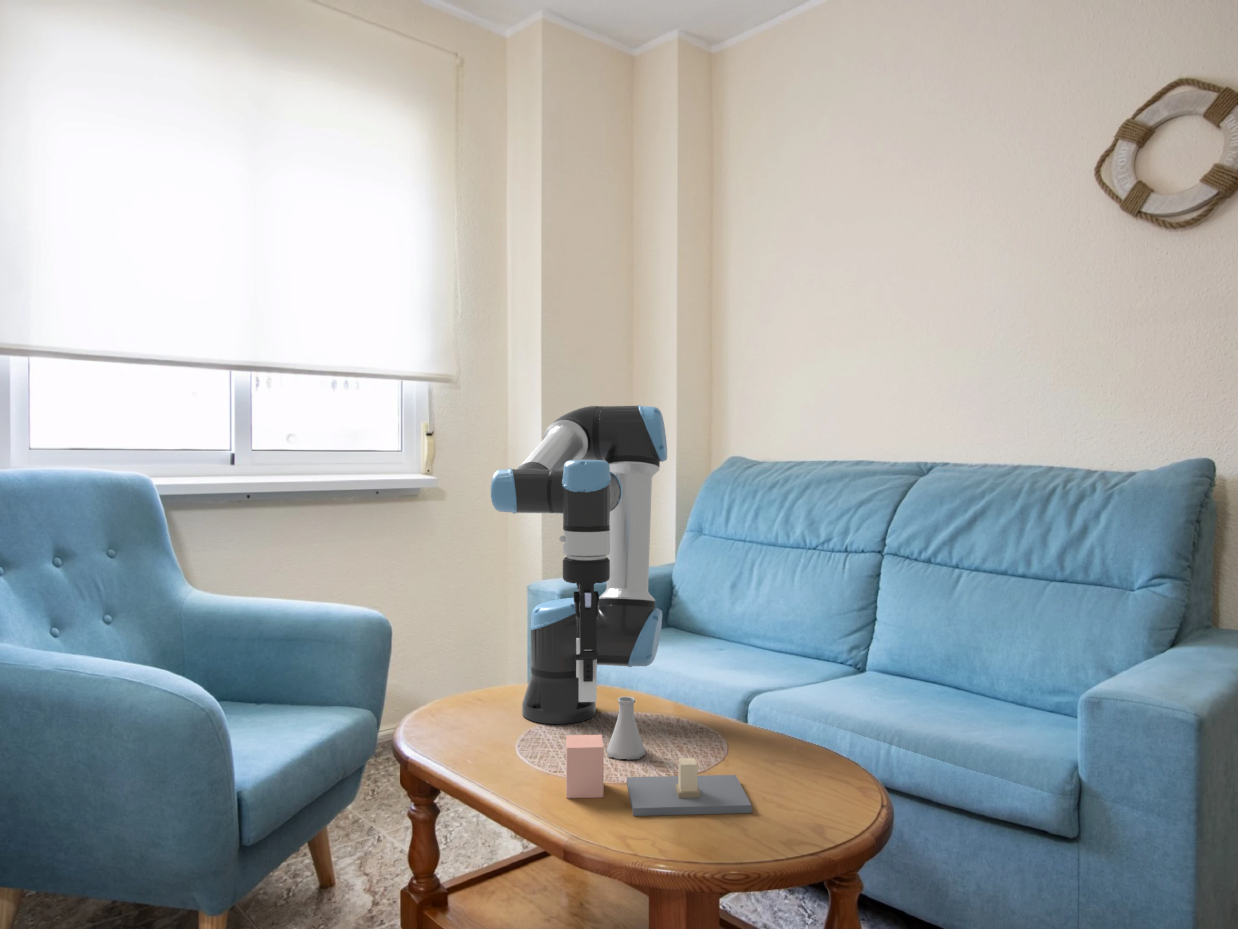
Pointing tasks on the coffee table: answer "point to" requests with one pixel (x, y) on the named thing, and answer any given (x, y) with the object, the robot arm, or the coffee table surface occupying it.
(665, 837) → the coffee table surface
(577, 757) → the pink upright block
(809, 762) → the coffee table surface
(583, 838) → the coffee table surface
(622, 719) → the flask
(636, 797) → the post board
